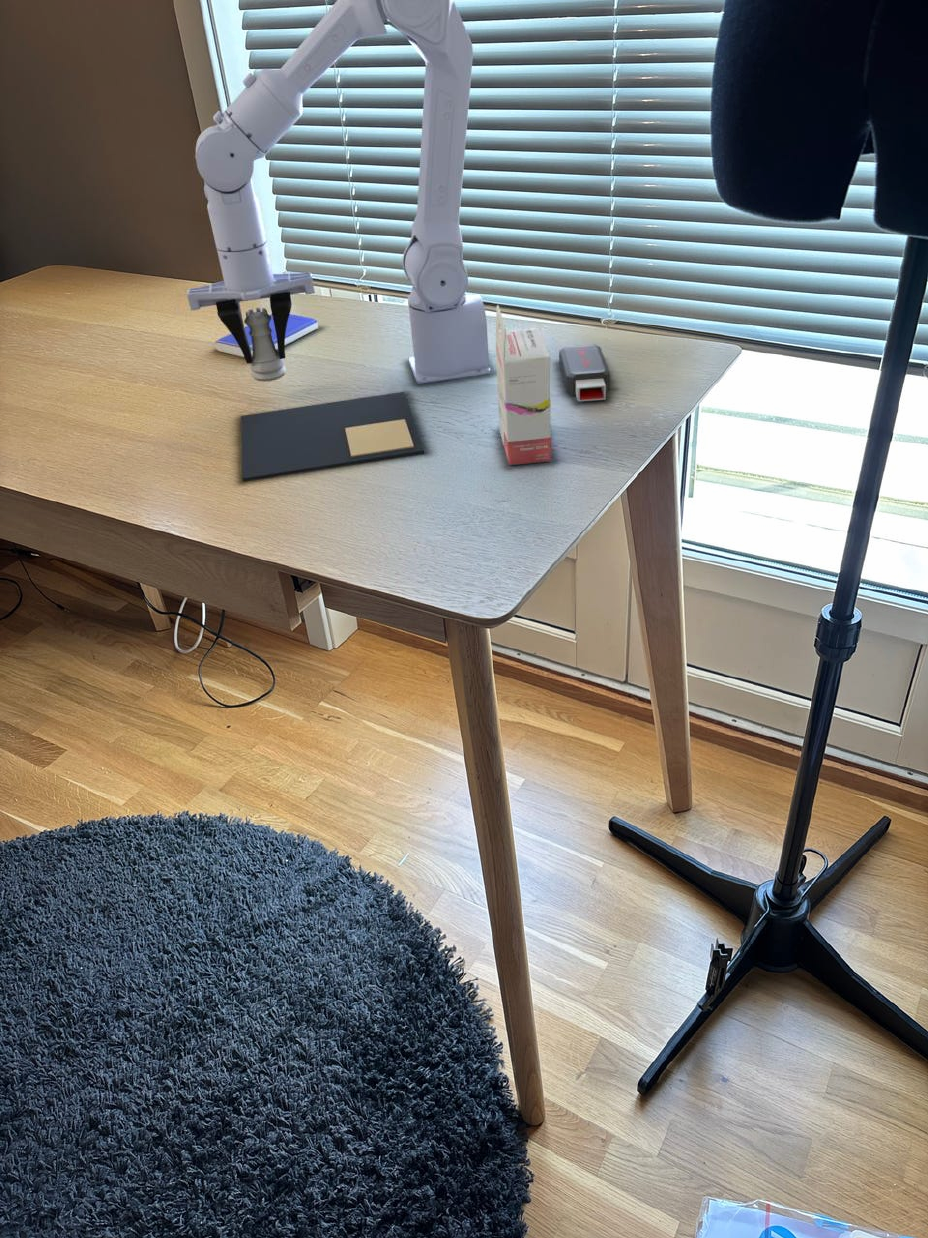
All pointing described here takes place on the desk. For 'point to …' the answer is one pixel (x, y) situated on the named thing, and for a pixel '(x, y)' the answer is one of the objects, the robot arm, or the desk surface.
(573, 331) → the desk surface
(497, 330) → the ink cartridge box
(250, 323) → the rook chess piece
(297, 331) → the hard drive
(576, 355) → the usb drive
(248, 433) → the desk pad
